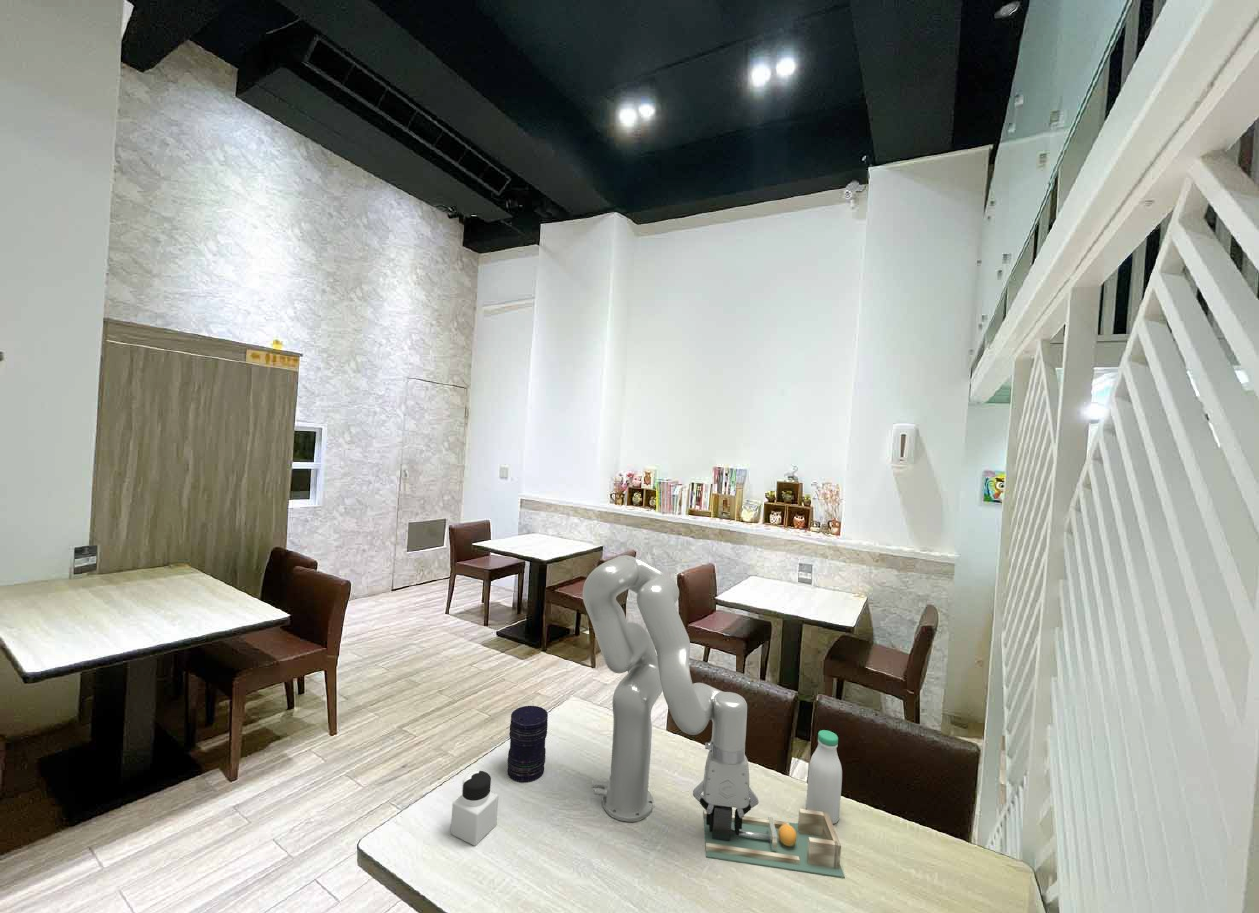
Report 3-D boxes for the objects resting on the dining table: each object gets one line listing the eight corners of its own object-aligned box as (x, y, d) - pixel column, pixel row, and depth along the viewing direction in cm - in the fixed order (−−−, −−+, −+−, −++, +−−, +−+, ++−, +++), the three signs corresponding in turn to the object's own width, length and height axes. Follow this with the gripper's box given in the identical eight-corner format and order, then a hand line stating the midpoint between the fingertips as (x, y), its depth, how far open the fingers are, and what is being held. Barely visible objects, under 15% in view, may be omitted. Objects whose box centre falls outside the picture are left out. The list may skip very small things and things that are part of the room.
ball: (779, 849, 112) (780, 831, 112) (776, 835, 116) (777, 818, 116) (797, 852, 112) (799, 834, 112) (794, 838, 116) (795, 821, 116)
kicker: (712, 841, 113) (714, 811, 113) (711, 822, 119) (713, 793, 119) (776, 851, 111) (778, 820, 111) (771, 831, 117) (773, 801, 117)
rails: (705, 850, 111) (706, 846, 111) (703, 814, 121) (703, 810, 121) (799, 864, 108) (799, 859, 108) (788, 826, 119) (788, 822, 119)
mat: (705, 857, 109) (706, 856, 109) (703, 811, 123) (703, 810, 123) (844, 878, 106) (844, 876, 106) (825, 828, 120) (825, 827, 120)
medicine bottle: (497, 825, 114) (500, 773, 114) (475, 847, 108) (478, 791, 107) (472, 813, 117) (475, 762, 117) (449, 834, 111) (453, 780, 110)
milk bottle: (842, 828, 120) (848, 746, 120) (808, 821, 122) (814, 740, 122) (835, 806, 128) (841, 728, 128) (803, 800, 129) (809, 723, 129)
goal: (808, 864, 109) (809, 841, 109) (797, 829, 119) (799, 808, 119) (839, 868, 108) (841, 845, 108) (826, 833, 118) (827, 812, 118)
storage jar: (527, 754, 141) (530, 701, 140) (552, 769, 135) (556, 714, 135) (498, 771, 133) (502, 715, 132) (524, 788, 127) (528, 729, 127)
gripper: (690, 756, 112) (686, 836, 113) (768, 764, 111) (764, 846, 111) (690, 737, 120) (685, 812, 120) (763, 745, 118) (759, 821, 118)
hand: (723, 828), depth 115 cm, fingers closed on kicker, 5 cm apart
